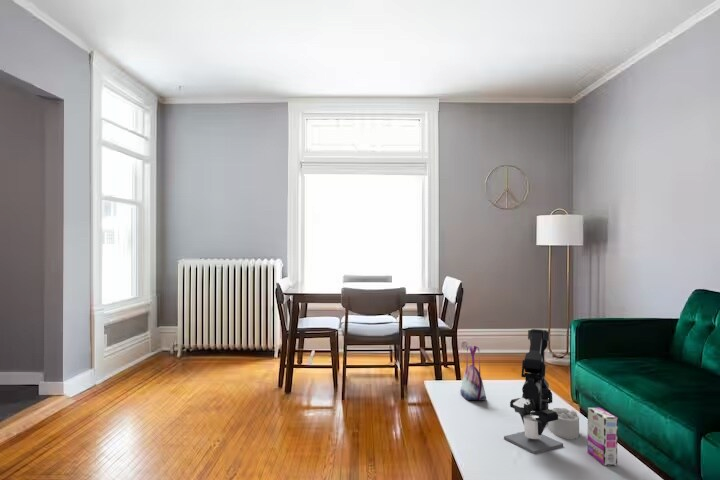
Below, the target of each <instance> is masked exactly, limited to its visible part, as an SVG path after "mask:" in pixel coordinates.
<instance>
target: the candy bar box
mask: <svg viewBox="0 0 720 480" xmlns="http://www.w3.org/2000/svg"><path fill="white" fill-rule="evenodd" d="M618 423H619V418H618V417H617V416H616V415H613V414H612V413H610V412H608V411H606V410H605V409H604V408H601V407H598V406H597V407H587V443H586V445H587V450H586V451H587V454H589V455H590V456H592V457H593V458H594V459H595V460H596V461H597V462H599V463H600V464H602V465H603V466H605V467H609V466H608V465H617V466H618V437H619V436H618V435H619V434H618V431H619V430H618V428H619V427H618V425H619V424H618Z"/></svg>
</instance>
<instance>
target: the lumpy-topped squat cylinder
mask: <svg viewBox="0 0 720 480" xmlns="http://www.w3.org/2000/svg"><path fill="white" fill-rule="evenodd" d="M550 410H553V411H555V412H557V414H558V420H555V421H550V422H548V423H547V426H548V427H547V429H548V431H549V432H550V433H552V435H554V436H556V437H559V438H562V439H567V440H576V439H578V438H579V437H580V417H579V415H578V413H577V412H576V411H575V410H569V409H568V408H566V407H561V408H560V407H555V408H551V409H550ZM578 436H579V437H578ZM575 438H576V439H575Z"/></svg>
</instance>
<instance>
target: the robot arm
mask: <svg viewBox="0 0 720 480" xmlns="http://www.w3.org/2000/svg"><path fill="white" fill-rule="evenodd" d="M550 338H551V333H550V331H548V330H547V329H538V328H537V329H536V328H531V329H529V330H528V331H527V339H528V340H529V344H530V345H529V349H528V350H529V351H528V352H527V353H525V355H524V359H522V365H521V366H522V367H521V377H520V378H525V379H524V383H523V385H522V388H521V390H522V391H521V392H522V396H521V397H517V398H513V399H511V400H510V402H509V407H510V408H512V409H514V412H515V413H517V414H519V415H520V417H521V421H522V423H523V425H524V416H525V415H536V416H539V418H535V419H536V420H537V422H538V435H541V434H543V432H544V430H545V428H546V427H547V426H548V422H550V421H555V420H558V414H557V412H555V411H553V410H551V409H550V408H549V405H550V404H552V403H553V393H552V390H551V389H550V384H549V382H548V381H547V379H546V370H547V369H546V368H547V365H546V362H545V361H546V356H545V355H546V353H545V351H546V349H547V348H548V345H549V342H550V340H551V339H550Z"/></svg>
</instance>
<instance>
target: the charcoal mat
mask: <svg viewBox="0 0 720 480" xmlns="http://www.w3.org/2000/svg"><path fill="white" fill-rule="evenodd" d="M503 440H505V441H506V442H509V443H511V444H514V445H515V446H517V447H519V448H521V449H523V450H525V451H527V452H528V453H529V452H530V453H531V454H533V455H535V454H539V453H544V452H547V451H550V450H554V449H558V448H559V449H560V448H561V447H564V443H563V442H561V441H558V440H557V439H554V438H552V437H549V436H548V435H546V434H545V435H544V433H542V434H541V438H539V439H531V438H528V437H526V436H525V430H524V431H521V432H516V433H513V434H507V435H504V436H503Z"/></svg>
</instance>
